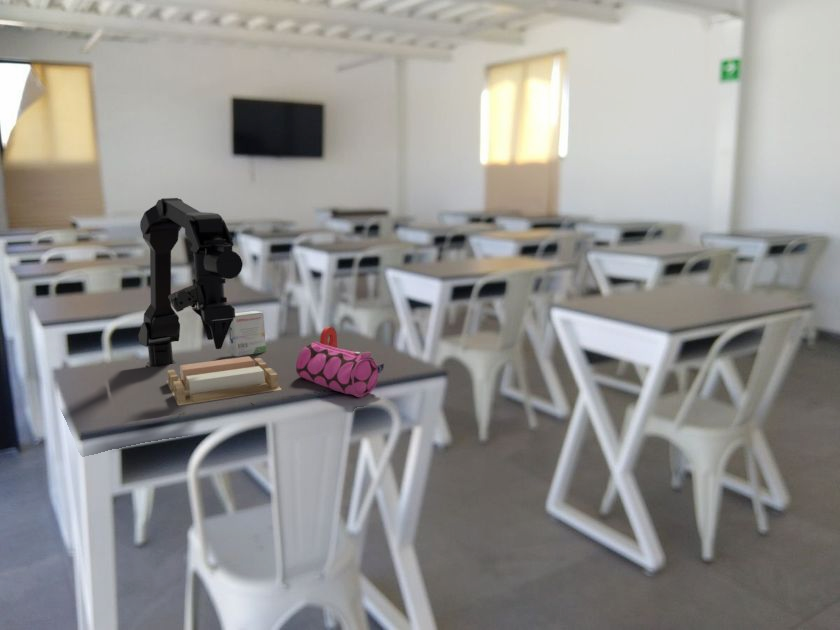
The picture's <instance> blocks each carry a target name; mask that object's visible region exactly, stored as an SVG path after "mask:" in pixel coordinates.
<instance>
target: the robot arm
mask: <svg viewBox="0 0 840 630" xmlns="http://www.w3.org/2000/svg"><path fill="white" fill-rule="evenodd" d="M139 222H140V223H139V226H140V227H139V228H140V232H141V233H142V239H143V240H144V241H145V243H146V245H147V246H148V248H149V254H150V255H149V257H150V258H149V260H150V261H149V262H150V263H149V267H150V271H149V272H150V274H149V275H150V284H149V286H150V304H149V306H148V307H147V308H146V310H145V312H144V314H143V322H142V323H141V327H140V330H139V333H138V340H139V344H140V345H142V346H144V347H146V348H147V353H148V359H149V361H148V362H146V364H147V365H146V366H147V367H148V368H151V367H158V368H159V367H163V366H165V367H166V366H169V365H174V364H177V363H176V361H175V360H174V356H173V347H172V343H173V342H174V343H175V342H179V341H180V332H181V323H180V321H179V320H180V319H179V315H178V314H177V313H179V312H182V311H184V309H186V308H188V307H190V308H191V310H193V312H194V313H196V314H197V315H198V316H200V320H201V322H202V326H203V329H204V332H205V336H206V338H207V339H206V340H207V341H208V340H209V341H211V340H213V343H214V348H215V349H216V350H221V349H222V347H223V344H224V342H225V340H226V337H227V334H228V333H229V327H230V325H231V323H232V321H233V319H234V318H235V313H236V311H235V308H234V307H233V306H232V305H231V304H230V303H228V300H227V299H228V297H226V296H225V286H224V284H226V279H227V280H231V279H232V280H233V279H235V278H237V276H239V275H240V273H241V272H242V270H243V260H242V258H241V255H239V253H237V252H235V251H234V250H233V246H234V242H233V239H234V238H233V236H232V234H231V231H230V230H229V229H228V227H227V224H226V222H225V220H224V219H223V217H222V216H221V215H220V214H219V213H216V212H206V211H205V212H202V211H200V210H198V209H195V208H194V207H192V206H190V205H189V204H187V203H185V202H184V201H183V200H182V199H181V198H179V197H167V198H165V197H164V198H160V199H158V200H157V201H156V204H155V205H153V206H152V207H150V208H149V209H148V210H146V211H144V213H143V216H142V218H141V219H140V221H139ZM182 228H183V229H184V235H185V236H186V237H187V238H188V240H189V242H190V243H191V247H190V251H191V252H192V253H193V255H192V256H193V266H194V277H193V279H192V284H191V285H189V286H186V287H184V288H182V289H179V290H177V291H175V292H173V293H172V250H173V249H174V248H175V246H176V244H177V243H178V242H179V233H180V231H181V230H182Z"/></svg>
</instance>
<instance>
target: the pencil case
mask: <svg viewBox="0 0 840 630" xmlns="http://www.w3.org/2000/svg"><path fill="white" fill-rule="evenodd" d="M371 355H372V352H371V351H365V352H363V351H353V350H348V349H342V348H338V347H337V348H335V347H331V346H327V345H323V344H321V343H320V341H319V342H318V341H313V342H312V343H309V344H308V345H306V346H304V347H303V348H302V350H301V351H300V352H299V355H298V356H297V360H296V364H295V370H296V373H297V375H298V376H299V377H300V378H302V379H305V380H306V381H309V382H313V383H315V384H316V385H320V386H322V387H325V388H329V389H331V390H333V391H336V392H339V393H342V394H345V395H348V396H349V395H350V396H351V395H352V396H355V397H358V398H363V397H362V396H364V397H365V396H367V395H368V394H370V393H371V392H372V391H373V390H374V389H375V387H376V385H377V384H378V380H379V374H381V373H382V371H384V365H385V364H384V363H381V364H380V365H378V364H377V362H376V361H375V360H374V359H373V357H372V356H371Z"/></svg>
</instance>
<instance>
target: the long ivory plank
mask: <svg viewBox="0 0 840 630" xmlns="http://www.w3.org/2000/svg"><path fill="white" fill-rule="evenodd" d="M186 382H187V393H188V395H189V397H190V399H192V395H191V394H195V393H202V392H209V391H215V390H222V389H229V388H236V387H242V386H249V385H256V384H262V383H265V381H264V371H263V370H262V369H261V368H260V367H259V366H256V367H255V366H254V367H249V368H242V369H234V370H227V371H220V372H213V373H206V374H198V375H191V376H186Z"/></svg>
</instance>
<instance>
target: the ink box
mask: <svg viewBox="0 0 840 630" xmlns="http://www.w3.org/2000/svg"><path fill="white" fill-rule="evenodd" d="M264 317H265V315H264V312H262V311H259V310H252V311H243V312H235V318H234V319H233V321H232V323H231V325H230V327H229V330H228V338H229V339H228V340H229V341H228V342H229V354H230V355H229V356H230V357H235V358H238V357H245V356H250V355H253V354H260V353H266V352H267V346H266V344H267V342H266V330H265V318H264Z"/></svg>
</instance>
